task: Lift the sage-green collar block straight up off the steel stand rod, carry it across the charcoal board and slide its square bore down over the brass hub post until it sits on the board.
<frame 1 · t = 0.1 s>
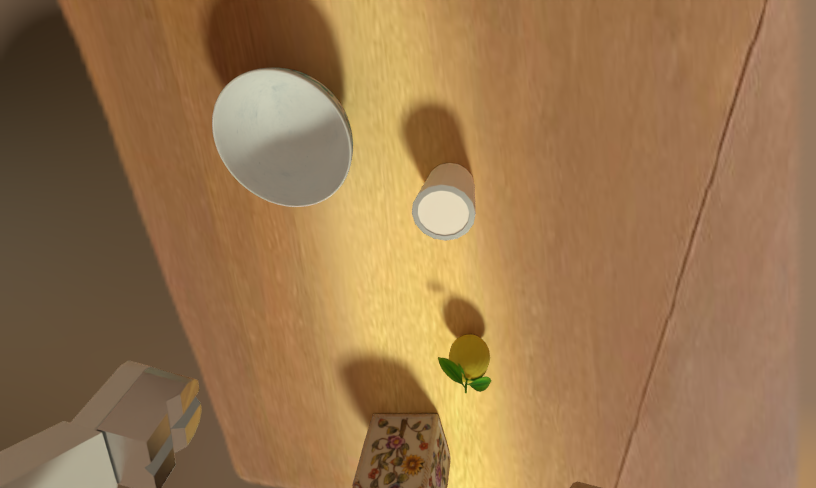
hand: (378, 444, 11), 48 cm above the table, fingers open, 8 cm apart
decorative jar: (412, 433, 88), on the table
shot glass: (450, 183, 61), on the table
chinaware: (307, 117, 60), on the table
lemon: (470, 337, 73), on the table
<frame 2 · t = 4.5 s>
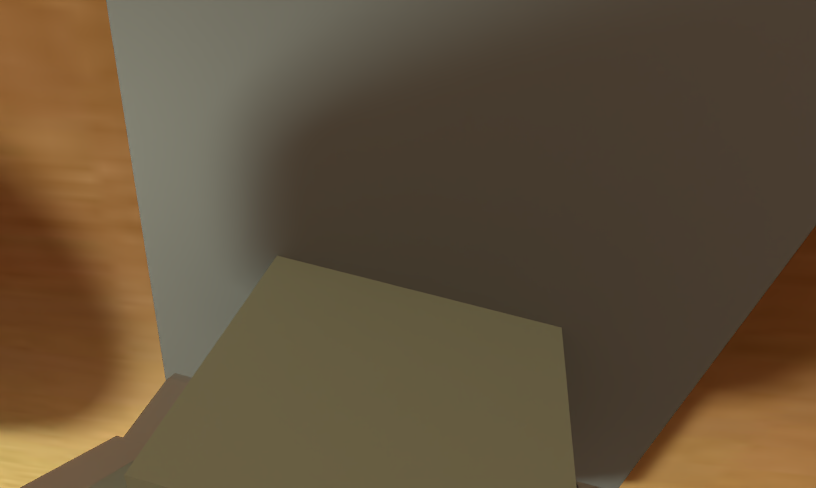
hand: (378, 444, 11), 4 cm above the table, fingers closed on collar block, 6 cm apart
stand board: (459, 118, 10), on the table
collar block: (394, 385, 12), point 2 cm above the table, touching gripper, stand board
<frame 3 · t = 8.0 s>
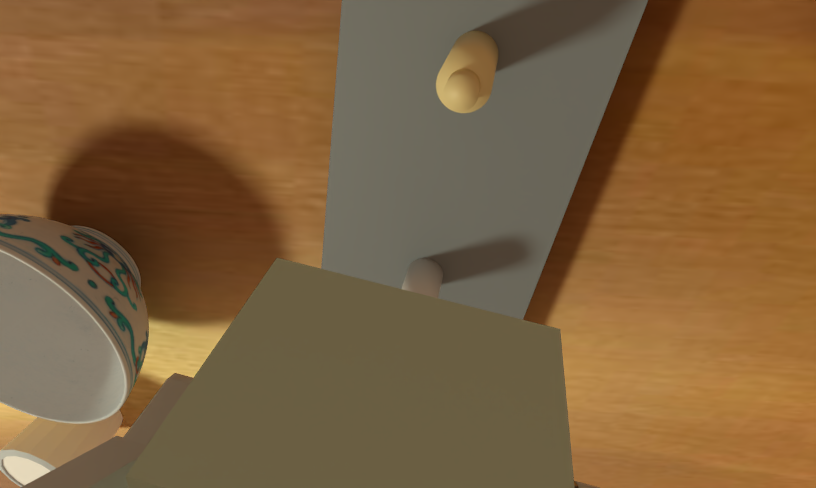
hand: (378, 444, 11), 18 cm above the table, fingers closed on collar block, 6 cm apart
shot glass: (95, 406, 47), on the table
stand board: (451, 162, 27), on the table
chinaware: (99, 263, 37), on the table
collar block: (394, 387, 12), point 17 cm above the table, touching gripper
when the fingers open (4 cm above the table, at t = 11.6 s): collar block stays where it is, resting on stand board.
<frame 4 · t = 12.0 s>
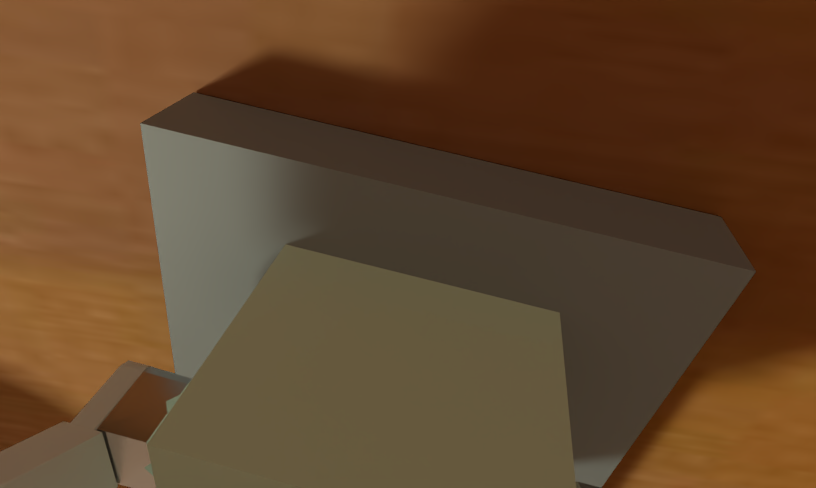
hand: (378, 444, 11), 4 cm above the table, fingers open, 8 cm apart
stand board: (381, 442, 18), on the table
collar block: (398, 371, 13), point 2 cm above the table, touching stand board
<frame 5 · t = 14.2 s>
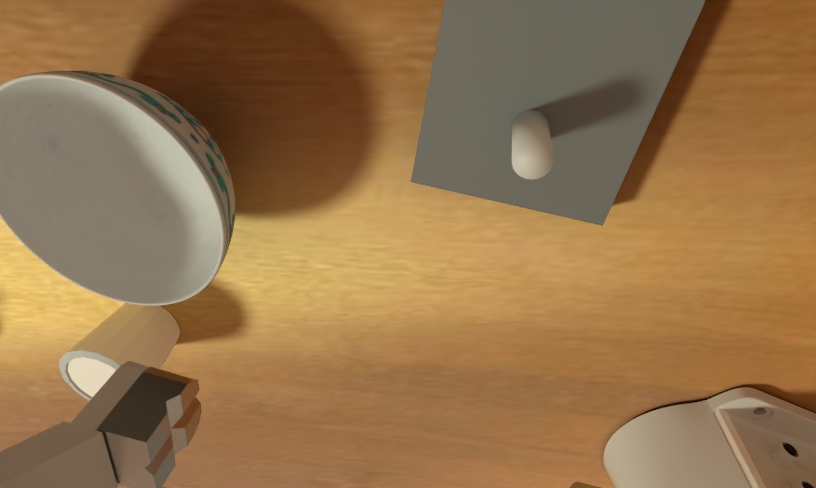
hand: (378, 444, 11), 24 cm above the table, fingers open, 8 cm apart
shot glass: (151, 321, 47), on the table
stand board: (563, 6, 27), on the table
chinaware: (174, 151, 36), on the table
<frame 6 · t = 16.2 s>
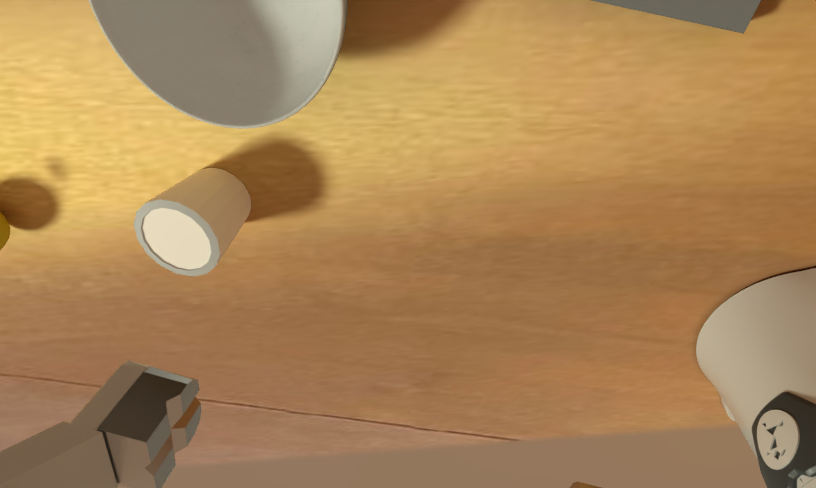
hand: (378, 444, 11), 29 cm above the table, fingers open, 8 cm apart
shot glass: (221, 196, 45), on the table
lemon: (2, 210, 50), on the table
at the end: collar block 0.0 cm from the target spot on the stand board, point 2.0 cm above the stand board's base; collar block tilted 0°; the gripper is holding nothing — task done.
